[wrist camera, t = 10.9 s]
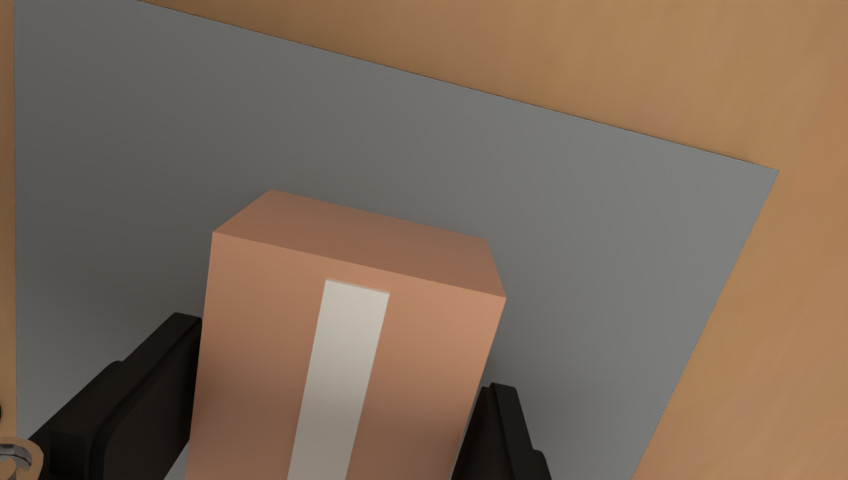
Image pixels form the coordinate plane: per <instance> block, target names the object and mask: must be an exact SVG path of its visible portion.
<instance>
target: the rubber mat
mask: <svg viewBox="0 0 848 480" xmlns="http://www.w3.org/2000/svg"><path fill="white" fill-rule="evenodd" d="M14 115H15V252H16V389H17V437H18V438H22V439H26V440H27V439H28V438H29V437H30V436H32V435H33V434H34V433H35V432H36V431H37V430H38V429H39V428H40V427H41V426H42V425H43V424H45V423H46V422H47V421H48V420H49V419H50V418H51V417H52V416H53V415H54V414H55V413H57V412H58V411H59V410H60V409H61V408H62V407H63V406H64V405H65V404H66V403H67V402H68V401H70V400H71V399H72V398H73V397H74V396H75V395H76V394H77V393H78V392H79V391H80V390H82V389H83V388H84V387H85V386H86V385H87V384H88V383H89V382H90V381H91V380H92V379H93V378H95V377H96V376H97V375H98V374H99V373H100V372H101V371H102V370H103V369H104V368H105V367H107V366H108V365H109V364H110V363H112V362H113V361H117V360H119V361H123V360H124V359H125V358H127V357H128V356H129V355H130V354H131V353H132V352H133V351H134V350H135V349H136V348H137V347H138V346H139V345H140V344H141V343H142V342H143V341H144V340H145V339H147V338H148V337H149V336H150V335H151V334H152V333H153V332H154V331H155V330H156V329H157V328H158V327H159V326H160V325H161V324H162V323H163V322H164V321H165V320H167V319H168V318H169V317H170V316H171V315H172V314H173V313H174V312H179V313H183V314H188V315H192V316H197V317H201V319H202V324H203V315H204V306H205V297H206V288H207V279H208V271H209V262H210V253H211V244H212V235H213V231H215V230H216V229H217V228H219V227H220V226H221V225H223V224H224V223H225V222H227V221H228V220H229V219H231V218H232V217H233V216H235V215H236V214H237V213H239V212H240V211H242V210H243V209H244V208H246V207H247V206H248V205H250V204H251V203H252V202H254V201H255V200H256V199H258V198H259V197H260V196H262V195H263V194H264V193H266V192H267V191H268V190H270V189H273V190H277V191H282V192H286V193H290V194H294V195H299V196H303V197H307V198H312V199H316V200H320V201H325V202H329V203H333V204H337V205H342V206H346V207H350V208H355V209H359V210H363V211H367V212H372V213H376V214H380V215H385V216H389V217H393V218H398V219H402V220H406V221H410V222H415V223H419V224H423V225H428V226H432V227H436V228H441V229H445V230H449V231H453V232H458V233H462V234H466V235H471V236H475V237H479V238H484V239H486V240H487V243H488V246H489V249H490V252H491V255H492V257H493V260H494V263H495V266H496V269H497V272H498V275H499V278H500V280H501V283H502V286H503V289H504V292H505V295H506V301H505V305H504V308H503V311H502V314H501V317H500V320H499V323H498V326H497V329H496V333H495V336H494V339H493V342H492V345H491V348H490V351H489V354H488V357H487V360H486V364H485V367H484V370H483V373H482V376H481V379H480V382H479V385H478V388H477V392H476V395H475V398H474V401H473V404H472V407H471V410H470V413H469V416H468V420H467V423H466V426H465V429H464V432H463V435H462V438H461V441H460V444H459V448H458V451H457V454H456V457H455V460H454V463H453V466H452V469H451V472H450V476H449V479H448V480H451V476H452V473H453V470H454V467H455V464H456V461H457V458H458V455H459V452H460V449H461V446H462V443H463V440H464V437H465V434H466V431H467V428H468V425H469V422H470V419H471V416H472V413H473V410H474V407H475V404H476V401H477V398H478V395H479V393H480V390H481V388H482V387H483V386H484V387H488V388H489V386H490V384H491V383H492V382H494V383H499V384H503V385H508V386H512V387H515V388H516V390H517V393H518V397H519V400H520V404H521V407H522V411H523V415H524V418H525V422H526V425H527V429H528V432H529V436H530V439H531V443H532V447H533V449H536V450H540V451H541V452H543V454H544V456H545V458H546V462H547V465H548V468H549V472H550V475H551V478H552V480H631V479H632V477H633V475H634V472H635V470H636V468H637V466H638V464H639V462H640V460H641V458H642V456H643V454H644V452H645V450H646V448H647V445H648V443H649V441H650V439H651V437H652V435H653V433H654V431H655V429H656V427H657V425H658V423H659V421H660V418H661V416H662V414H663V412H664V410H665V408H666V406H667V404H668V402H669V400H670V398H671V396H672V394H673V391H674V389H675V387H676V385H677V383H678V381H679V379H680V377H681V375H682V373H683V371H684V369H685V367H686V364H687V362H688V360H689V358H690V356H691V354H692V352H693V350H694V348H695V346H696V344H697V342H698V340H699V337H700V335H701V333H702V331H703V329H704V327H705V325H706V323H707V321H708V319H709V317H710V315H711V313H712V310H713V308H714V306H715V304H716V302H717V300H718V298H719V296H720V294H721V292H722V290H723V288H724V286H725V283H726V281H727V279H728V277H729V275H730V273H731V271H732V269H733V267H734V265H735V263H736V261H737V259H738V256H739V254H740V252H741V250H742V248H743V246H744V244H745V242H746V240H747V238H748V236H749V234H750V232H751V229H752V227H753V225H754V223H755V221H756V219H757V217H758V215H759V213H760V211H761V209H762V207H763V205H764V202H765V200H766V198H767V196H768V194H769V192H770V190H771V188H772V186H773V184H774V182H775V180H776V177H777V175H778V173H779V170H775V169H772V168H768V167H765V166H761V165H758V164H754V163H750V162H746V161H743V160H739V159H735V158H731V157H728V156H724V155H720V154H716V153H712V152H709V151H705V150H701V149H697V148H694V147H690V146H686V145H682V144H679V143H675V142H671V141H667V140H663V139H660V138H656V137H652V136H648V135H645V134H641V133H637V132H633V131H629V130H626V129H622V128H618V127H614V126H611V125H607V124H603V123H599V122H596V121H592V120H588V119H584V118H580V117H577V116H573V115H569V114H565V113H562V112H558V111H554V110H550V109H547V108H543V107H539V106H535V105H531V104H528V103H524V102H520V101H516V100H513V99H509V98H505V97H501V96H497V95H494V94H490V93H486V92H482V91H479V90H475V89H471V88H467V87H464V86H460V85H456V84H452V83H448V82H445V81H441V80H437V79H433V78H430V77H426V76H422V75H418V74H414V73H411V72H407V71H403V70H399V69H396V68H392V67H388V66H384V65H381V64H377V63H373V62H369V61H365V60H362V59H358V58H354V57H350V56H347V55H343V54H339V53H335V52H332V51H328V50H324V49H320V48H316V47H313V46H309V45H305V44H301V43H298V42H294V41H290V40H286V39H282V38H279V37H275V36H271V35H267V34H264V33H260V32H256V31H252V30H249V29H245V28H241V27H237V26H233V25H230V24H226V23H222V22H218V21H215V20H211V19H207V18H203V17H200V16H196V15H192V14H188V13H184V12H181V11H177V10H173V9H169V8H166V7H162V6H158V5H154V4H150V3H147V2H143V1H139V0H14ZM188 449H189V441H188V443H187V444H186V446H185V447H184V449H183V451H182V452H181V454H180V455H179V457H178V458H177V460H176V461H175V463H174V465H173V466H172V468H171V469H170V471H169V472H168V474H167V475H166V477H165V478H164V480H185V475H186V467H187V458H188Z"/></svg>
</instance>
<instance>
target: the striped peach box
mask: <svg viewBox="0 0 848 480" xmlns="http://www.w3.org/2000/svg"><path fill="white" fill-rule="evenodd" d="M505 301H506V295H505V292H504V289H503V286H502V283H501V280H500V278H499V275H498V272H497V269H496V266H495V263H494V260H493V257H492V255H491V252H490V249H489V246H488V243H487V240H486V239H484V238H479V237H475V236H471V235H466V234H462V233H458V232H453V231H449V230H445V229H441V228H436V227H432V226H428V225H423V224H419V223H415V222H410V221H406V220H402V219H398V218H393V217H389V216H385V215H380V214H376V213H372V212H367V211H363V210H359V209H355V208H350V207H346V206H342V205H337V204H333V203H329V202H325V201H320V200H316V199H312V198H307V197H303V196H299V195H294V194H290V193H286V192H282V191H277V190H273V189H270V190H268V191H267V192H266V193H264V194H263V195H262V196H260V197H259V198H258V199H256V200H255V201H254V202H252V203H251V204H250V205H248V206H247V207H246V208H244V209H243V210H242V211H240V212H239V213H237V214H236V215H235V216H233V217H232V218H231V219H229V220H228V221H227V222H225V223H224V224H223V225H221V226H220V227H219V228H217V229H216V230H215V231H213V235H212V244H211V253H210V262H209V271H208V279H207V288H206V297H205V306H204V315H203V324H202V333H201V342H200V351H199V360H198V369H197V377H196V386H195V395H194V404H193V413H192V422H191V431H190V440H189V449H188V458H187V467H186V475H185V480H448V479H449V476H450V472H451V469H452V466H453V463H454V460H455V457H456V454H457V451H458V448H459V444H460V441H461V438H462V435H463V432H464V429H465V426H466V423H467V420H468V416H469V413H470V410H471V407H472V404H473V401H474V398H475V395H476V392H477V388H478V385H479V382H480V379H481V376H482V373H483V370H484V367H485V364H486V360H487V357H488V354H489V351H490V348H491V345H492V342H493V339H494V336H495V333H496V329H497V326H498V323H499V320H500V317H501V314H502V311H503V308H504V305H505Z"/></svg>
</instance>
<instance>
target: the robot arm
mask: <svg viewBox="0 0 848 480" xmlns="http://www.w3.org/2000/svg"><path fill="white" fill-rule="evenodd" d="M201 333H202V319H201V317H197V316H192V315H188V314H183V313H179V312H174V313H173V314H172V315H171V316H170V317H169V318H168V319H167V320H165V321H164V322H163V323H162V324H161V325H160V326H159V327H158V328H157V329H156V330H155V331H154V332H153V333H152V334H151V335H150V336H149V337H148V338H147V339H145V340H144V341H143V342H142V343H141V344H140V345H139V346H138V347H137V348H136V349H135V350H134V351H133V352H132V353H131V354H130V355H129V356H128V357H127V358H125V359H124V360H123V361H119V360H117V361H113V362H112V363H110V364H109V365H108V366H107V367H105V368H104V369H103V370H102V371H101V372H100V373H99V374H98V375H97V376H96V377H95V378H93V379H92V380H91V381H90V382H89V383H88V384H87V385H86V386H85V387H84V388H83V389H82V390H80V391H79V392H78V393H77V394H76V395H75V396H74V397H73V398H72V399H71V400H70V401H68V402H67V403H66V404H65V405H64V406H63V407H62V408H61V409H60V410H59V411H58V412H57V413H55V414H54V415H53V416H52V417H51V418H50V419H49V420H48V421H47V422H46V423H45V424H43V425H42V426H41V427H40V428H39V429H38V430H37V431H36V432H35V433H34V434H33V435H32V436H30V437H29V438H28V439H27V440H26V439H22V438H18V437H0V480H164V478H165V477H166V475H167V474H168V472H169V471H170V469H171V468H172V466H173V465H174V463H175V461H176V460H177V458H178V457H179V455H180V454H181V452H182V451H183V449H184V447H185V446H186V444H187V443H188V441H189V440H190V431H191V422H192V413H193V404H194V395H195V386H196V377H197V369H198V360H199V351H200V342H201ZM451 480H552V478H551V475H550V472H549V468H548V465H547V462H546V458H545V456H544V454H543V452H541V451H540V450H536V449H533V447H532V443H531V439H530V436H529V432H528V429H527V425H526V422H525V418H524V415H523V411H522V407H521V404H520V400H519V397H518V393H517V390H516V388H515V387H512V386H508V385H503V384H499V383H494V382H492V383H491V384H490V386H489V388H488V387H484V386H483V387H482V388H481V390H480V393H479V395H478V398H477V401H476V404H475V407H474V410H473V413H472V416H471V419H470V422H469V425H468V428H467V431H466V434H465V437H464V440H463V443H462V446H461V449H460V452H459V455H458V458H457V461H456V464H455V467H454V470H453V473H452V476H451Z"/></svg>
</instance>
